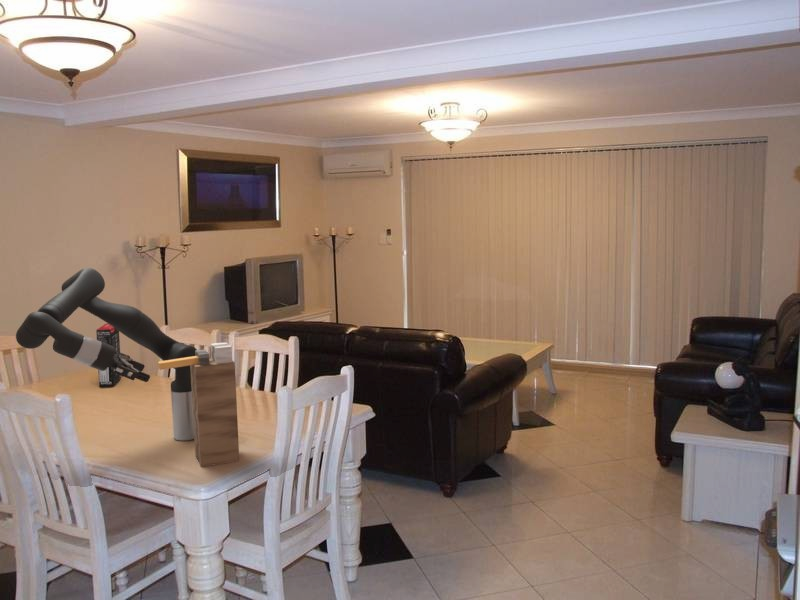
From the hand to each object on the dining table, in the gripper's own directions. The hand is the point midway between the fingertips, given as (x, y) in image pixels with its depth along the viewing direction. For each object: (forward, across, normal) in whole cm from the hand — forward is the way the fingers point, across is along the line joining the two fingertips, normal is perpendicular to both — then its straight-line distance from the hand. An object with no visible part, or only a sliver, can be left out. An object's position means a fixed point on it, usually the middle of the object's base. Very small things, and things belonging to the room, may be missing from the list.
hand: (145, 373), depth 207 cm
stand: (+34, +1, -17) cm, 38 cm away
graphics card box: (+31, -121, -43) cm, 132 cm away
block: (+11, -5, +5) cm, 13 cm away
